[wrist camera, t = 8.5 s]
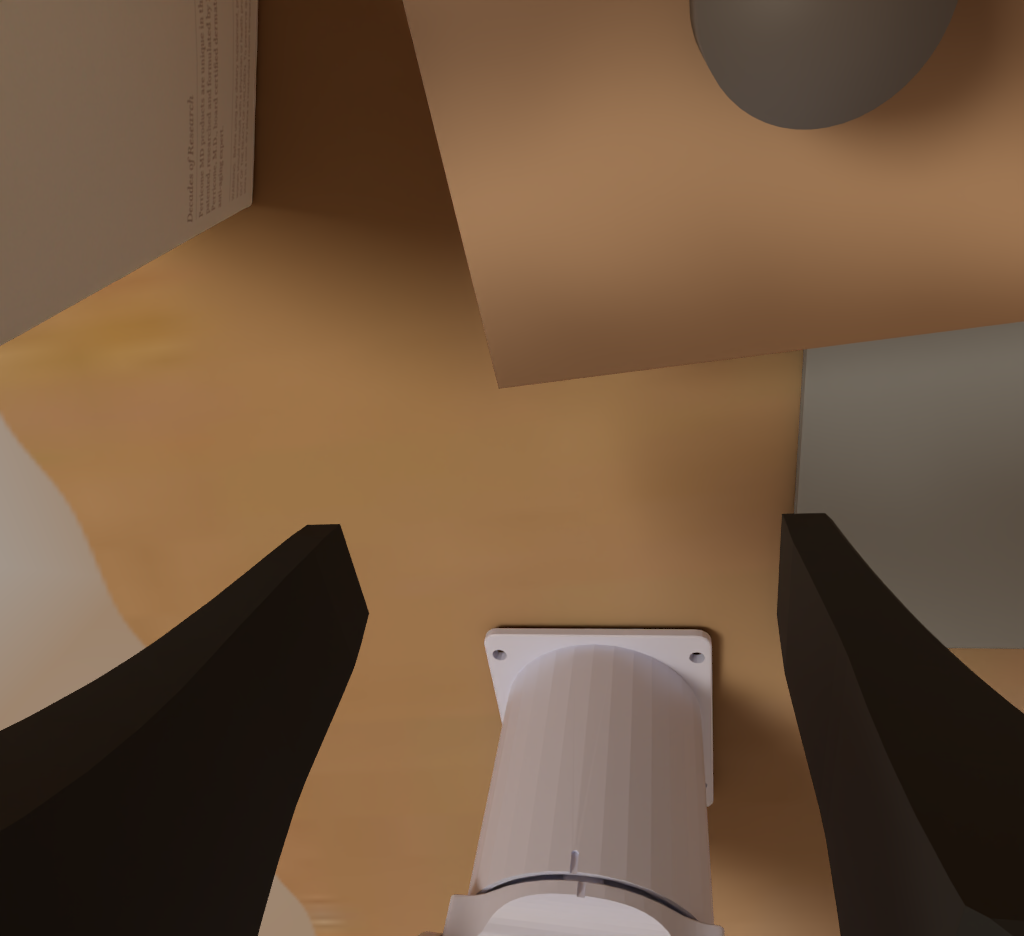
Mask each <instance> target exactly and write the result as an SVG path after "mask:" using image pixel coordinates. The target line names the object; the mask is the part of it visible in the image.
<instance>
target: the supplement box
mask: <svg viewBox="0 0 1024 936" xmlns="http://www.w3.org/2000/svg"><path fill="white" fill-rule="evenodd" d="M257 30H258V0H0V346H1V345H2V344H4V343H6V342H8V341H10V340H12V339H14V338H15V337H17V336H19V335H21V334H23V333H24V332H26V331H28V330H30V329H31V328H33V327H35V326H37V325H39V324H40V323H42V322H44V321H46V320H47V319H49V318H51V317H53V316H54V315H56V314H58V313H60V312H61V311H63V310H65V309H67V308H69V307H70V306H72V305H74V304H76V303H78V302H79V301H81V300H83V299H85V298H87V297H88V296H90V295H92V294H94V293H96V292H97V291H99V290H101V289H103V288H105V287H106V286H108V285H110V284H111V283H113V282H115V281H117V280H119V279H121V278H123V277H124V276H126V275H128V274H130V273H131V272H133V271H135V270H136V269H138V268H140V267H142V266H143V265H145V264H147V263H149V262H150V261H152V260H154V259H156V258H158V257H159V256H161V255H163V254H165V253H166V252H168V251H170V250H172V249H173V248H175V247H177V246H179V245H181V244H182V243H184V242H186V241H188V240H190V239H191V238H193V237H195V236H197V235H199V234H200V233H202V232H204V231H206V230H208V229H209V228H211V227H213V226H215V225H216V224H218V223H220V222H222V221H223V220H225V219H227V218H229V217H231V216H232V215H234V214H236V213H238V212H239V211H241V210H243V209H245V208H247V207H250V205H251V204H252V194H253V168H254V131H255V105H256V64H257Z"/></svg>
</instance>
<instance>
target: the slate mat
mask: <svg viewBox="0 0 1024 936" xmlns="http://www.w3.org/2000/svg"><path fill="white" fill-rule="evenodd" d="M800 513H826V514H827V515H828V516H829V517H830V518H831V519H832V520H833V521H834V523H835V524H836V525H837V527H838V528H839V529H840V531H841V532H842V533H843V534H844V536H845V537H846V538H847V540H848V541H849V542H850V543H851V545H852V546H853V547H854V548H855V550H856V551H857V552H858V553H859V555H860V556H861V557H862V558H863V559H864V561H865V562H866V563H867V564H868V565H869V567H870V568H871V569H872V570H873V571H874V572H875V574H876V575H877V576H878V577H879V578H880V579H881V580H882V582H883V583H884V584H885V585H886V586H887V587H888V588H889V589H890V590H891V591H892V593H893V594H894V595H895V596H896V597H897V598H898V599H899V600H900V601H901V602H902V603H903V604H904V606H905V607H906V608H907V609H908V610H909V611H910V612H911V613H912V614H913V615H914V616H915V617H916V618H917V619H918V620H919V621H920V622H921V623H922V624H923V625H924V626H925V627H926V628H927V629H928V630H929V631H930V632H931V633H932V634H933V635H934V636H935V637H936V638H937V639H938V640H939V641H940V642H941V643H942V644H943V645H944V646H945V647H946V648H1005V649H1024V321H1023V322H1016V323H1008V324H1000V325H992V326H984V327H976V328H969V329H961V330H953V331H945V332H937V333H930V334H922V335H914V336H906V337H898V338H890V339H883V340H875V341H867V342H859V343H851V344H844V345H836V346H828V347H820V348H812V349H804V352H803V369H802V386H801V402H800V419H799V436H798V453H797V470H796V487H795V503H794V514H800Z"/></svg>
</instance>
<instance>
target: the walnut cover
mask: <svg viewBox="0 0 1024 936" xmlns="http://www.w3.org/2000/svg"><path fill="white" fill-rule="evenodd" d="M402 1H403V5H404V9H405V13H406V17H407V21H408V25H409V29H410V33H411V37H412V41H413V45H414V49H415V53H416V57H417V61H418V65H419V69H420V73H421V77H422V81H423V85H424V89H425V93H426V97H427V101H428V105H429V109H430V113H431V117H432V121H433V125H434V129H435V134H436V138H437V142H438V146H439V150H440V154H441V158H442V162H443V166H444V170H445V174H446V178H447V182H448V186H449V190H450V194H451V198H452V202H453V206H454V210H455V214H456V218H457V222H458V226H459V230H460V234H461V238H462V242H463V246H464V250H465V254H466V258H467V262H468V266H469V271H470V275H471V279H472V283H473V287H474V291H475V295H476V299H477V303H478V307H479V311H480V315H481V319H482V323H483V327H484V331H485V335H486V339H487V343H488V347H489V351H490V355H491V359H492V363H493V367H494V371H495V375H496V379H497V383H498V387H499V389H500V388H507V387H515V386H523V385H531V384H539V383H546V382H554V381H562V380H570V379H578V378H586V377H593V376H601V375H609V374H617V373H625V372H632V371H640V370H648V369H656V368H664V367H672V366H679V365H687V364H695V363H703V362H711V361H718V360H726V359H734V358H742V357H750V356H758V355H765V354H773V353H781V352H789V351H797V350H804V349H812V348H820V347H828V346H836V345H844V344H851V343H859V342H867V341H875V340H883V339H890V338H898V337H906V336H914V335H922V334H930V333H937V332H945V331H953V330H961V329H969V328H976V327H984V326H992V325H1000V324H1008V323H1016V322H1023V321H1024V0H402Z"/></svg>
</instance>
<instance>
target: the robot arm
mask: <svg viewBox="0 0 1024 936" xmlns="http://www.w3.org/2000/svg"><path fill="white" fill-rule="evenodd" d="M368 615H369V612H368V609H367V605H366V602H365V599H364V596H363V593H362V590H361V587H360V584H359V581H358V578H357V575H356V572H355V569H354V566H353V563H352V560H351V557H350V554H349V550H348V547H347V544H346V541H345V538H344V535H343V532H342V529H341V526H340V524H327V525H307V526H305V527H304V528H302V529H301V530H299V531H298V532H296V533H295V534H294V535H292V536H291V537H290V538H289V539H287V540H286V541H285V542H283V543H282V544H281V545H280V546H278V547H277V548H276V549H275V550H273V551H272V552H271V553H270V554H268V555H267V556H266V557H265V558H263V559H262V560H261V561H260V562H258V563H257V564H256V565H255V566H254V567H252V568H251V569H250V570H249V571H247V572H246V573H245V574H244V575H242V576H241V577H240V578H239V579H237V580H236V581H235V582H234V583H232V584H231V585H230V586H229V587H227V588H226V589H225V590H224V591H222V592H221V593H220V594H219V595H217V596H216V597H215V598H213V599H212V600H211V601H210V602H208V603H207V604H206V605H204V606H203V607H201V608H200V609H199V610H197V611H196V612H195V613H193V614H192V615H191V616H189V617H188V618H187V619H185V620H184V621H183V622H181V623H180V624H179V625H177V626H176V627H175V628H173V629H172V630H170V631H169V632H168V633H166V634H165V635H164V636H162V637H161V638H160V639H158V640H157V641H155V642H154V643H152V644H151V645H149V646H148V647H146V648H145V649H143V650H142V651H140V652H139V653H137V654H136V655H134V656H133V657H131V658H130V659H128V660H127V661H125V662H124V663H122V664H120V665H119V666H118V667H115V668H114V669H112V670H111V671H109V672H108V673H106V674H104V675H103V676H101V677H99V678H98V679H96V680H94V681H93V682H91V683H89V684H88V685H86V686H84V687H82V688H80V689H79V690H77V691H75V692H73V693H71V694H69V695H68V696H66V697H64V698H62V699H60V700H59V701H57V702H55V703H53V704H51V705H49V706H48V707H46V708H44V709H42V710H40V711H39V712H37V713H35V714H33V715H31V716H29V717H27V718H25V719H24V720H22V721H20V722H17V723H16V724H13V725H11V726H9V727H7V728H5V729H3V730H1V731H0V936H258V933H259V929H260V925H261V921H262V917H263V914H264V911H265V907H266V903H267V900H268V896H269V893H270V889H271V886H272V882H273V879H274V875H275V872H276V868H277V865H278V861H279V858H280V855H281V852H282V849H283V845H284V842H285V839H286V836H287V833H288V830H289V826H290V823H291V820H292V817H293V814H294V810H295V807H296V805H297V802H298V799H299V797H300V794H301V792H302V789H303V786H304V784H305V781H306V779H307V777H308V774H309V772H310V770H311V767H312V765H313V763H314V760H315V758H316V756H317V753H318V751H319V749H320V746H321V744H322V742H323V740H324V737H325V735H326V733H327V730H328V728H329V726H330V723H331V721H332V719H333V716H334V714H335V712H336V710H337V707H338V705H339V702H340V700H341V698H342V695H343V693H344V691H345V688H346V686H347V683H348V681H349V679H350V676H351V674H352V671H353V669H354V666H355V663H356V660H357V656H358V653H359V649H360V646H361V643H362V639H363V635H364V631H365V627H366V623H367V619H368ZM777 618H778V626H779V634H780V642H781V650H782V657H783V664H784V671H785V676H786V680H787V684H788V688H789V692H790V696H791V700H792V704H793V708H794V712H795V716H796V720H797V724H798V727H799V731H800V735H801V739H802V743H803V747H804V751H805V754H806V758H807V762H808V766H809V770H810V774H811V778H812V781H813V785H814V789H815V793H816V797H817V801H818V805H819V809H820V813H821V818H822V823H823V827H824V832H825V837H826V842H827V848H828V855H829V861H830V868H831V874H832V880H833V887H834V893H835V900H836V906H837V913H838V920H839V926H840V933H841V936H1024V713H1022V712H1021V711H1020V710H1018V709H1017V708H1016V707H1014V706H1013V705H1012V704H1011V703H1009V702H1008V701H1007V700H1006V699H1005V698H1003V697H1002V696H1001V695H1000V694H998V693H997V692H996V691H995V690H994V689H992V688H991V687H990V686H989V685H988V684H986V683H985V682H984V681H983V680H982V679H981V678H979V677H978V676H977V675H976V674H975V673H974V672H973V671H971V670H970V669H969V668H968V667H967V666H966V665H965V664H964V663H962V662H961V661H960V660H959V659H958V658H957V657H956V656H955V655H954V654H953V653H952V652H950V651H949V650H948V649H947V648H946V647H945V646H944V645H943V644H942V643H941V642H940V641H939V640H938V639H937V638H936V637H935V636H934V635H933V634H932V633H931V632H930V631H929V630H928V629H927V628H926V627H925V626H924V625H923V624H922V623H921V622H920V621H919V620H918V619H917V618H916V617H915V616H914V615H913V614H912V613H911V612H910V611H909V610H908V609H907V608H906V607H905V606H904V604H903V603H902V602H901V601H900V600H899V599H898V598H897V597H896V596H895V595H894V594H893V593H892V591H891V590H890V589H889V588H888V587H887V586H886V585H885V584H884V583H883V582H882V580H881V579H880V578H879V577H878V576H877V575H876V574H875V572H874V571H873V570H872V569H871V568H870V567H869V565H868V564H867V563H866V562H865V561H864V559H863V558H862V557H861V556H860V555H859V553H858V552H857V551H856V550H855V548H854V547H853V546H852V545H851V543H850V542H849V541H848V540H847V538H846V537H845V536H844V534H843V533H842V532H841V531H840V529H839V528H838V527H837V525H836V524H835V523H834V521H833V520H832V519H831V518H830V517H829V516H828V515H827V514H826V513H800V514H782V525H781V545H780V564H779V584H778V603H777ZM484 644H485V649H486V653H487V658H488V662H489V667H490V671H491V676H492V680H493V685H494V689H495V694H496V698H497V703H498V707H499V712H500V716H501V721H502V730H501V735H500V739H499V744H498V749H497V754H496V759H495V764H494V769H493V774H492V779H491V784H490V789H489V793H488V798H487V803H486V808H485V813H484V818H483V823H482V828H481V833H480V838H479V843H478V847H477V852H476V857H475V862H474V867H473V872H472V877H471V882H470V887H469V892H468V895H458V894H454V895H452V896H451V900H450V904H449V909H448V913H447V918H446V922H445V927H444V931H443V933H436V932H428V931H426V932H423V933H421V934H419V935H418V936H725V935H724V928H723V927H721V926H719V925H714V917H713V900H712V884H711V867H710V851H709V834H708V818H707V807H708V806H710V805H711V804H712V803H713V710H712V642H711V637H710V635H709V634H708V633H707V632H705V631H702V630H697V629H551V628H495V629H491V630H489V631H488V632H487V634H486V637H485V642H484ZM497 650H502V651H504V652H499V651H497ZM696 652H698V653H702V654H699V655H695V654H692V653H696Z"/></svg>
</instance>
